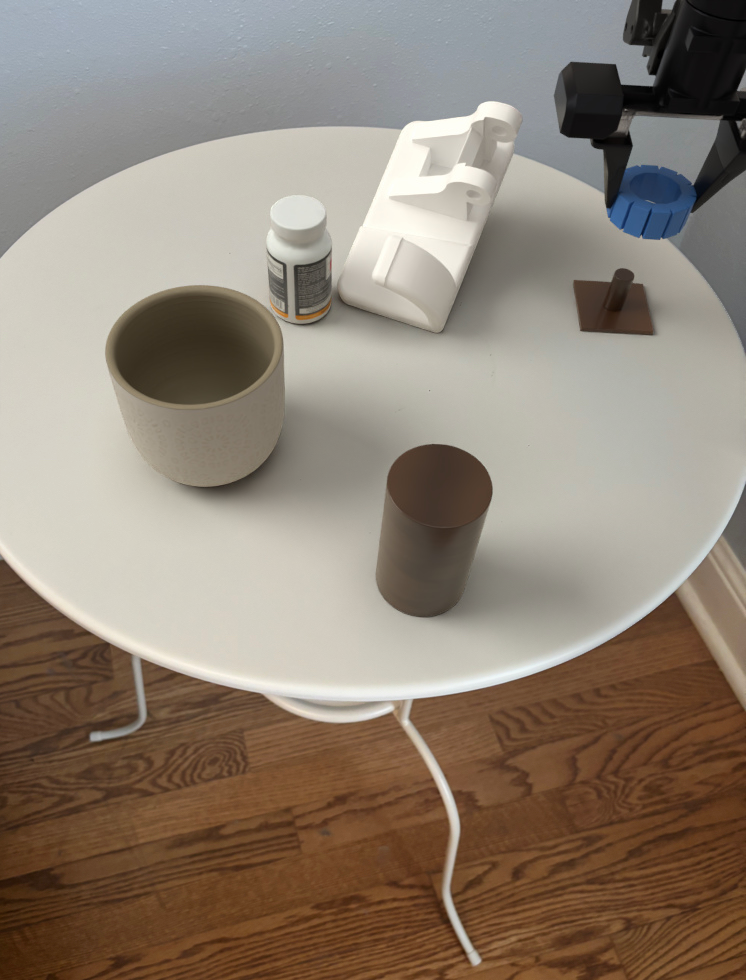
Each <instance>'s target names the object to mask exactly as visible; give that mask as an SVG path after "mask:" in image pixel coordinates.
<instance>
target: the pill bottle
mask: <svg viewBox="0 0 746 980" xmlns="http://www.w3.org/2000/svg"><path fill="white" fill-rule="evenodd" d="M269 224H270V225H269V226H270V229H269V230H268V233H267V234H266V235H267V236H266V240H265V247H266V248H265V249H266V260H267V261H266V262H267V263H266V264H267V274H268V275H267V276H268V277H267V278H268V295H269V304H270V308H271V309H272V311H273V313H274V314H275V316H277V317H278V318H280V319H282V320H283V321H285V322H287V323H292V324H297V325H304V324H311V323H314V322H317V321H319V320H321V319H322V318H324V317H325V316H326V315H328V312H329V310H330V309H331V306H332V296H333V295H332V293H333V292H332V291H333V289H332V288H333V285H332V284H333V283H332V282H333V281H332V280H333V279H332V278H333V274H332V273H333V266H332V263H333V240H332V236H331V234H330V232H329V230H328V228H327V224H328V219H327V209H326V207H325V205H324V204H323V203H322V201H320V200H318V199H317V198H315V197H312V196H310V195H303V194H294V195H287V196H285V197H282V198H280V199H278V200H277V201H276V202H274V203H273V204H272V206H271V208H270V211H269Z"/></svg>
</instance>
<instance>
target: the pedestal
mask: <svg viewBox="0 0 746 980" xmlns="http://www.w3.org/2000/svg"><path fill="white" fill-rule="evenodd" d="M493 493H494V487H493V481H492V479H491V475H490V474H489V471H488V469H487V468H486V467H485V465H484V464H483V463H482V462H481V461H480V460H479V459H478V458H477V457H475V456H474V455H473V454H471V453H470V452H468V451H466V450H464V449H462V448H459V447H457V446H454V445H449V444H443V443H427V444H421V445H418V446H415V447H413V448H410V449H408V450H406V451H404V452H403V453H402V454H400V455H399V456H398V457H397V458H396V459H395V460H394V461H393V463H392V464H391V466H390V468H389V470H388V473H387V476H386V485H385V494H384V501H383V510H382V518H381V527H380V534H379V542H378V550H377V557H376V558H377V559H376V568H375V583H376V587H377V589H378V591H379V593H380V595H381V596H382V598H383V599H384V600H385V601H386V603H387V604H388V605H390V606H391V607H393V608H394V609H396V610H397V611H398V612H401V613H402V614H405V615H409V616H412V617H420V618H421V617H423V618H424V617H426V618H428V617H434V616H438V615H440V614H444V613H445V612H447V611H449V610H451V609H452V608H453V607H454V606H456V605H457V604H458V602H459V601H460V600H461V598H462V596H463V594H464V591H465V589H466V585H467V582H468V579H469V575H470V572H471V569H472V565H473V563H474V559H475V556H476V552H477V549H478V545H479V543H480V539H481V536H482V532H483V529H484V525H485V522H486V519H487V516H488V512H489V509H490V506H491V503H492V500H493Z"/></svg>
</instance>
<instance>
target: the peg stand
mask: <svg viewBox="0 0 746 980" xmlns="http://www.w3.org/2000/svg"><path fill="white" fill-rule="evenodd" d="M635 278H636V277H635V272H633V271H632V270H631V269H629V268H626V267H621V268H617V269H616V270H615V271H614V272H613V275H612V278H611V281H600V280H586V279H585V280H582V279H574V280H573V281H572V287H573V293H574V299H575V306H576V312H577V318H578V324H579V330H580V332H595V333H596V332H597V333H613V334H628V335H629V334H630V335H631V334H632V335H649V336H650V335H651V336H653V334H654V331H655V330H654V326H653V322H652V318H651V314H650V309H649V305H648V300H647V295H646V291H645V286H644V283H640V282H639V283H636V282H634V280H635Z"/></svg>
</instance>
